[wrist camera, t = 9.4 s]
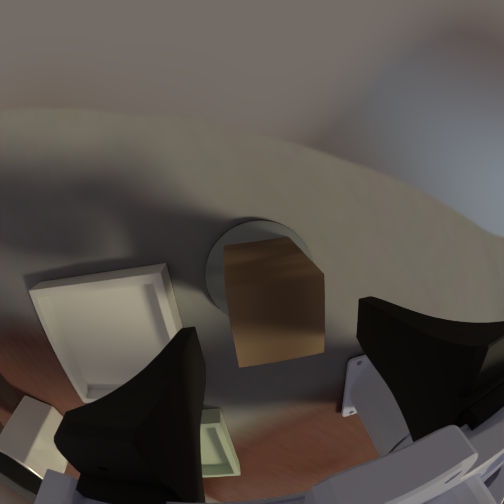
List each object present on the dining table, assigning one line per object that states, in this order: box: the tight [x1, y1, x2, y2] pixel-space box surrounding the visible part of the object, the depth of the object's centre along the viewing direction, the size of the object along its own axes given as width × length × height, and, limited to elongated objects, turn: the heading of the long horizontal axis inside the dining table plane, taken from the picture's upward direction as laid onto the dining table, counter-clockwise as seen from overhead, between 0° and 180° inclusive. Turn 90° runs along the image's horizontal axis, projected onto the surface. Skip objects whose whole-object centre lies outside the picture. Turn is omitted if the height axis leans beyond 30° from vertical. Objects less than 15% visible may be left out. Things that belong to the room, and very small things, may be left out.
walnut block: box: [224, 237, 325, 368], centre depth 14 cm, size 4×4×6 cm
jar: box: [0, 395, 68, 503], centre depth 16 cm, size 9×8×12 cm
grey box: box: [29, 263, 183, 403], centre depth 18 cm, size 11×11×2 cm
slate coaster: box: [205, 220, 313, 316], centre depth 18 cm, size 7×7×1 cm
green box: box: [200, 408, 240, 477], centre depth 22 cm, size 11×11×2 cm
